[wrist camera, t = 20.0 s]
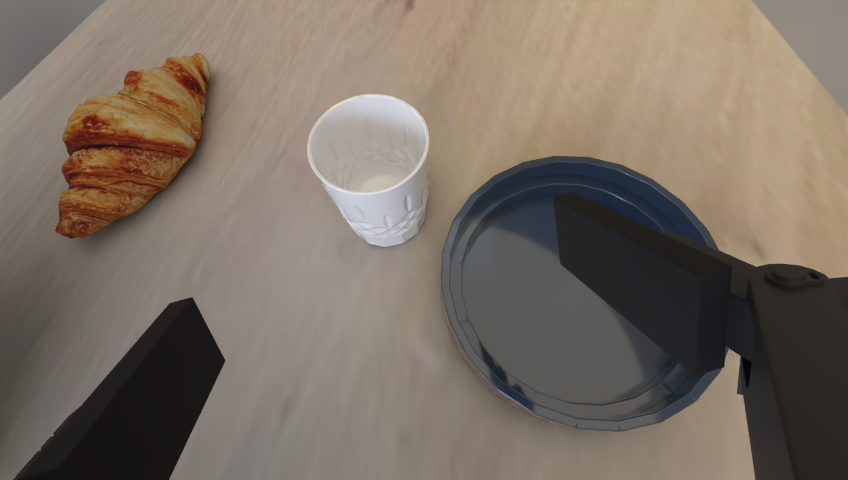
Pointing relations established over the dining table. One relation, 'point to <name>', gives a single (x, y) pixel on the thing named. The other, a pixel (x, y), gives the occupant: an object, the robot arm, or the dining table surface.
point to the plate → (559, 300)
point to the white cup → (374, 165)
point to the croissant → (131, 143)
